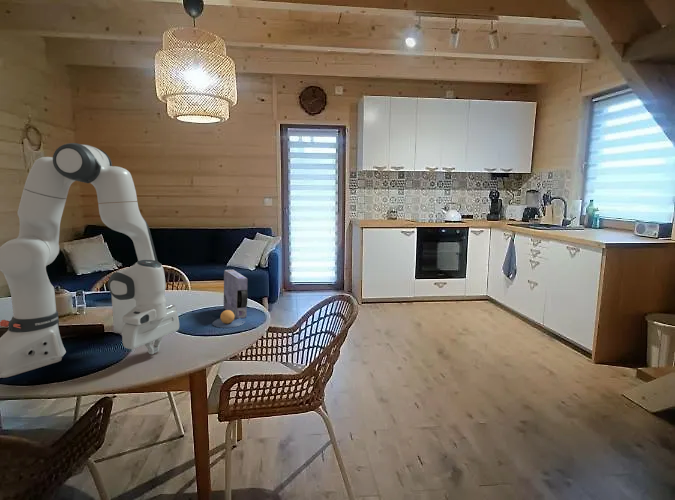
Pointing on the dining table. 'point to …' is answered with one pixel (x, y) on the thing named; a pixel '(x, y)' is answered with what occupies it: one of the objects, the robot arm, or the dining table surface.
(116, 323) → the canister
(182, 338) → the dining table surface
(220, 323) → the disc
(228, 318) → the ball
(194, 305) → the dining table surface
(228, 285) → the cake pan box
